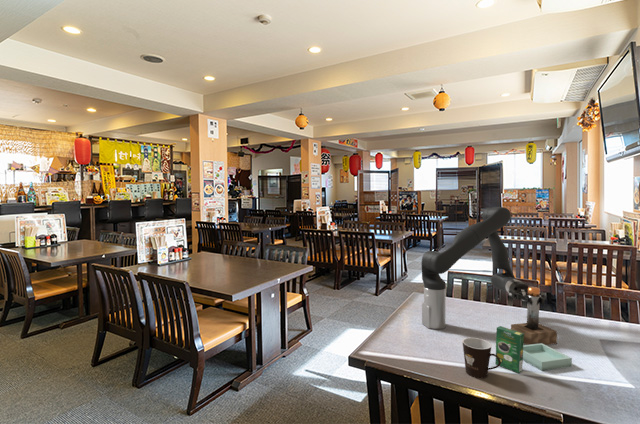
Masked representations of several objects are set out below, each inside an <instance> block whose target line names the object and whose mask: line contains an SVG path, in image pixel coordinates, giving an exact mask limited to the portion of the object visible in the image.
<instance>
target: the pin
mask: <svg viewBox="0 0 640 424" xmlns="http://www.w3.org/2000/svg"><path fill="white" fill-rule="evenodd" d="M540 292H541V289H540V287H537V286H529V287H528V296H529V297H530V298H532V303H528V302H526V304H527V306H526V323H527V327H528V328H530V329H538V327H539V324H540V322H539V319H540V318H539V317H540V303H539V296H540Z"/></svg>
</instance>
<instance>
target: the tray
mask: <svg viewBox="0 0 640 424" xmlns="http://www.w3.org/2000/svg"><path fill="white" fill-rule="evenodd" d="M523 361H524V362H525V363H528V364H529V365H530V366H533V367H534V368H536V369H538V370H539V371H542V372H543V371H545V372H546V371H549V370H550V371H551V370H559V369H564V368H565V369H566V368H572V367H573V366H572V365H573V364H572V362H573V357H571V356H568V354H567V355H566V354H565V353H563V352H560V351H558V350H557V349H555V348H552V347H550V346H549V345H544V344H542V343H540V344H531V345H526V344H523Z"/></svg>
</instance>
